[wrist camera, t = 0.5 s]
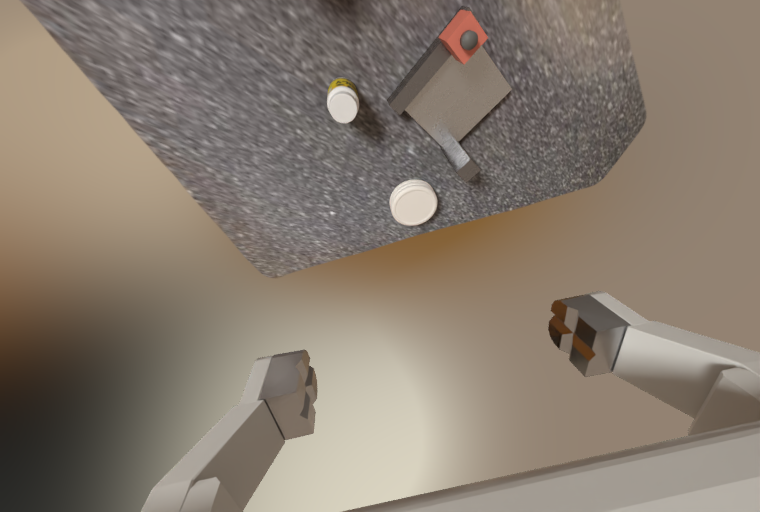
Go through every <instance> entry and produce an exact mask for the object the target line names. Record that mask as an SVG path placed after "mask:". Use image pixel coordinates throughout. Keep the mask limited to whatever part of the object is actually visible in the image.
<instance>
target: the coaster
mask: <svg viewBox="0 0 760 512" xmlns="http://www.w3.org/2000/svg"><path fill="white" fill-rule="evenodd" d="M390 208H391V212H392V215H393V217H394V218H395V220H396V221H398V222H399V223H401V224H403V225H408V226H414V225H419V224H422V223H424V222H426V221H427V220H429V219H430V218H431V217H432V216H433V214H434V213H435V211H436V208H437V196H436V194H435V192H434V190H433V188H432V187H431V185H430V184H428V183H427V182H425V181H423V180H418V179H412V180H407V181H405V182H403V183H401V184H399V185H398V186H397V187H396V188H395V189H394V190H393V192H392V194H391V197H390Z"/></svg>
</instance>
